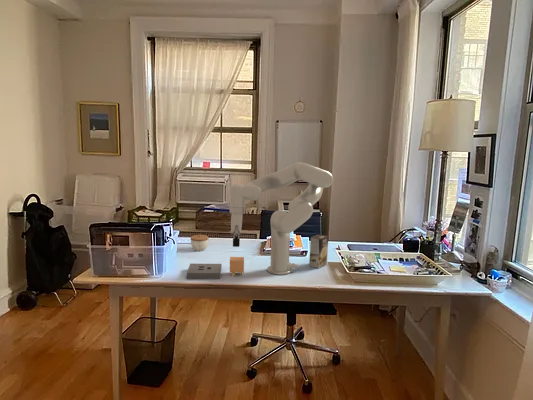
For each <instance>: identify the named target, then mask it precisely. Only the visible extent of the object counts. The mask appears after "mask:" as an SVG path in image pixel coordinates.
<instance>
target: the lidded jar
mask: <svg viewBox="0 0 533 400" xmlns="http://www.w3.org/2000/svg"><path fill="white" fill-rule="evenodd" d="M190 244H191V245H190V246H191V247H192V249H194V251H196V252H202V251H205V250H206V249H207V247H208V245H209V236H208V235H205V234H195V235H191V237H190Z"/></svg>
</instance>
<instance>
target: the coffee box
mask: <svg viewBox="0 0 533 400" xmlns="http://www.w3.org/2000/svg"><path fill="white" fill-rule="evenodd" d="M328 247H329V235H323V234H317V235H313V236H311V237H310V247H309V267H311V268H314V269H315V268H317V269H320V268H322V267H325V266H327V264H328V252H329V251H328V250H329V248H328Z"/></svg>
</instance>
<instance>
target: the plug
mask: <svg viewBox="0 0 533 400" xmlns="http://www.w3.org/2000/svg"><path fill="white" fill-rule="evenodd" d="M244 272H245V257H244V256H230V258H229V273H230V274H231V275H230V276H231V277H232V276H233V277H234V276H236V273H240V274H239V275H240V276H242V275H243V273H244Z"/></svg>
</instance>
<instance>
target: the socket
mask: <svg viewBox="0 0 533 400" xmlns="http://www.w3.org/2000/svg"><path fill="white" fill-rule="evenodd" d="M222 266H223V265H222V263H190V264H189V266H188V268H187V271H186V280H221V274H222V270H223V269H222Z"/></svg>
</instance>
